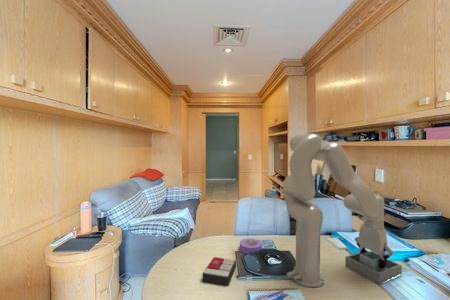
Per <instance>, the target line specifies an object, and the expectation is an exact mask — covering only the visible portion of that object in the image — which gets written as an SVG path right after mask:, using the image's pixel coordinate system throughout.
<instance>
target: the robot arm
mask: <svg viewBox="0 0 450 300" xmlns="http://www.w3.org/2000/svg"><path fill="white" fill-rule="evenodd" d="M289 149H290V150H291V151H292V154H291V156H290V158H289V166H288V167H289V172H290V173H289V174H290V175H287V176H286V177H285V178H284V180H283V184H282V190H283V195H284V201H285V206H286V211H287V213H288V215H289V216H290V217H291V218H293V219H294V220H296V221H297V222H298V225H297V228H296V232H295V266H293V269H292V271H289V272H286V277H287V279H288V278H292V277H293V278H292V279H293V280H294V281H295V283H297V284H299V285H301V286H304V287H308V288H318V287H321V286H323V284H324V283H325V277H324V275H323V274H322V273H321V234H322V233H321V232H322V226H323V222H324V215H323V212H322V210H321V208H320V207H319V206H318V205H316V204H315V203H313V202H311V200H312V199H314V197H315V196H316V187H315V180H314V176H313V169H312V168H313V167H312V164H313V161H315V160H316V161H321V162H324V163H325V165H326V167H327V169H328V171H329V172H330V175H331V176H332V179H333V180H334V181H335V183H337V184H338V185H339V186H341V187H342V188H344V189H346V190H347V191H349V193H351V194H348V195H346V196H345V197H344V198H343V206H344V207H345V208H346V209H347V210H349V211H351V212H353V213H355V214H359V215H361V218H360V220H361V221H362V223H361V224H360V228H359V232H358V236H357V237H354V241H355V244H356V245H357V247H358V250H359V252H360V254H363V253H366V252H367V251H366V250H368V251H373V252H375V253H378V254H379V256H380V258H381V259H379V268H380V269H382V268H385V267H386V259H389V258H391V257H392V256H394V255H395V252H394V251H393V250H392V249H391V248H390V247H389V246H388V237H387V231H386V228H385V226H384V225H385V199H384V197H383V196H381V195H378V194H375V193H374V191H373V189H372V188H371V187H370V186H369V185H368V184H367V183H366V182H365V181H364V180H363V179H362V178H361V177H360V176H359V175H358V174H357V173H356V172H355V171H354V168H353V166H352V163H351V162H350V160H349V158H348V156H347V154H346V152H345V150H344V148H343V146H342V145H341V144H340V143H338V142H333V141H323V140H322V137H321V136H320V135H318V134H316V133H301V134H296V135H293V136H292V137H291V139H290V140H289ZM362 216H363V217H362Z"/></svg>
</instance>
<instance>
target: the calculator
mask: <svg viewBox="0 0 450 300" xmlns="http://www.w3.org/2000/svg"><path fill="white" fill-rule="evenodd" d="M236 268H237V260H235V259H231V258H223V257H217V256H214V257H213V258H212V259H211V261H210V262H209V263H208V265H207V267H205V268H204V271H203V272H202V280H201V281H202V283H204V284H205V283H206V284H212V285H215V286H216V285H218V286H223V287H229V286H230V284H231V281H232V278H233V275H234V273H235V270H236Z"/></svg>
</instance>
